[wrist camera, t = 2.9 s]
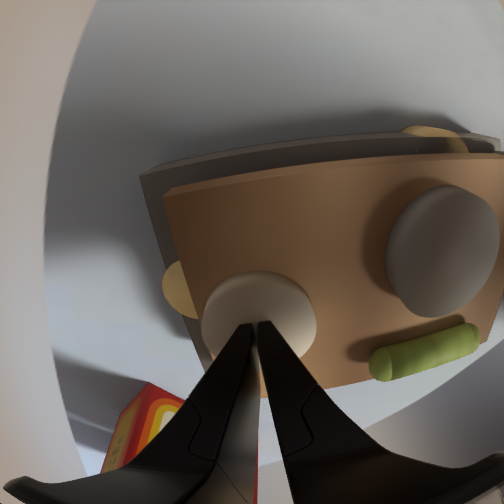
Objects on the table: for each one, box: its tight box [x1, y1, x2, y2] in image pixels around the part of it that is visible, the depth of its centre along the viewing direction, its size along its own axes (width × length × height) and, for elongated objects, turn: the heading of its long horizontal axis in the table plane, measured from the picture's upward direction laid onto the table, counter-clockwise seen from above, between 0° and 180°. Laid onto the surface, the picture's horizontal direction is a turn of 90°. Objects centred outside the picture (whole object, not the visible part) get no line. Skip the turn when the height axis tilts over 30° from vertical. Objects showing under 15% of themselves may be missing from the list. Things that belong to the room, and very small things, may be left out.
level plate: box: [162, 151, 504, 398], centre depth 10 cm, size 14×9×3 cm, turn 100°
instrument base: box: [139, 125, 500, 372], centre depth 12 cm, size 16×11×2 cm
